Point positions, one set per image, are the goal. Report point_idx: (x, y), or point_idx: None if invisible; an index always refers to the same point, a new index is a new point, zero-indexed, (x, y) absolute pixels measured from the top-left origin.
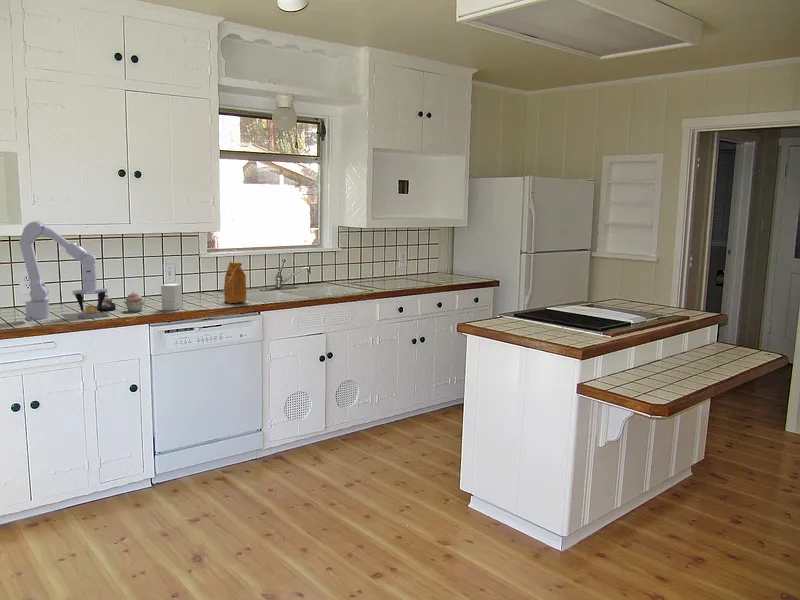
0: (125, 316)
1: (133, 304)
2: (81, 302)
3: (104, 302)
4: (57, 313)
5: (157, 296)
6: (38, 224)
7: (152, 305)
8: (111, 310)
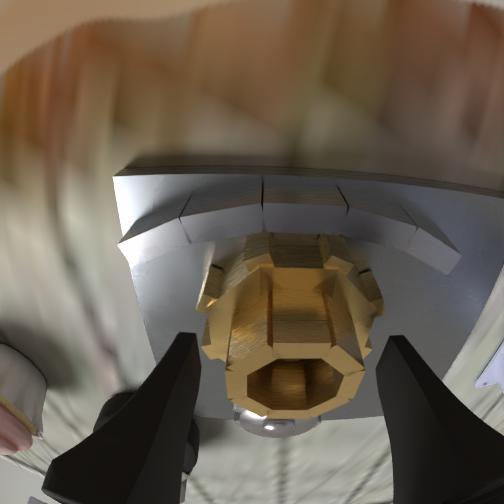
0: (18, 230)
1: None
2: (446, 408)
3: None
4: (374, 452)
5: (46, 470)
6: None
7: None
8: (117, 403)
